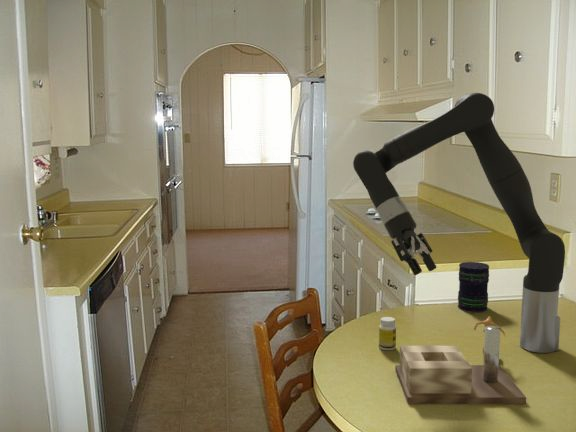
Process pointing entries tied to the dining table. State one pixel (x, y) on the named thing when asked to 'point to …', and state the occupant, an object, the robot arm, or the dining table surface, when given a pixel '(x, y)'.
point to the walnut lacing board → (480, 391)
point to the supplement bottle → (387, 333)
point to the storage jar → (473, 286)
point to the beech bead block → (435, 369)
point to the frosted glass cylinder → (491, 354)
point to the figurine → (488, 323)
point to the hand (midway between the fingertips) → (426, 271)
